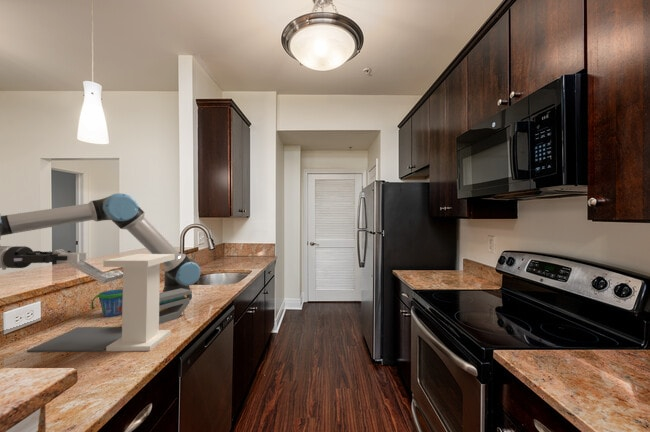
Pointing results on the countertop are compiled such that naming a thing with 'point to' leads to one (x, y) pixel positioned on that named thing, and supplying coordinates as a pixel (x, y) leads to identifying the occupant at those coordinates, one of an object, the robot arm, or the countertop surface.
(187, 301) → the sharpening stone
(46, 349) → the mat
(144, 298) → the stand
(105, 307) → the snack cup
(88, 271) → the bracket
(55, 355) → the countertop surface
